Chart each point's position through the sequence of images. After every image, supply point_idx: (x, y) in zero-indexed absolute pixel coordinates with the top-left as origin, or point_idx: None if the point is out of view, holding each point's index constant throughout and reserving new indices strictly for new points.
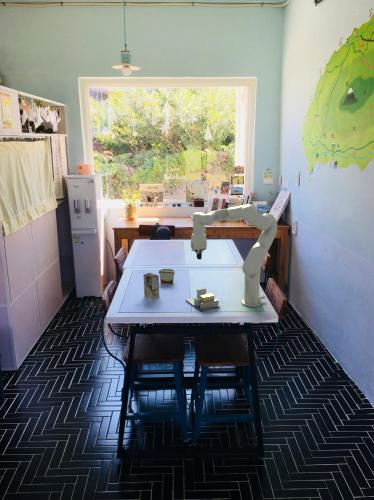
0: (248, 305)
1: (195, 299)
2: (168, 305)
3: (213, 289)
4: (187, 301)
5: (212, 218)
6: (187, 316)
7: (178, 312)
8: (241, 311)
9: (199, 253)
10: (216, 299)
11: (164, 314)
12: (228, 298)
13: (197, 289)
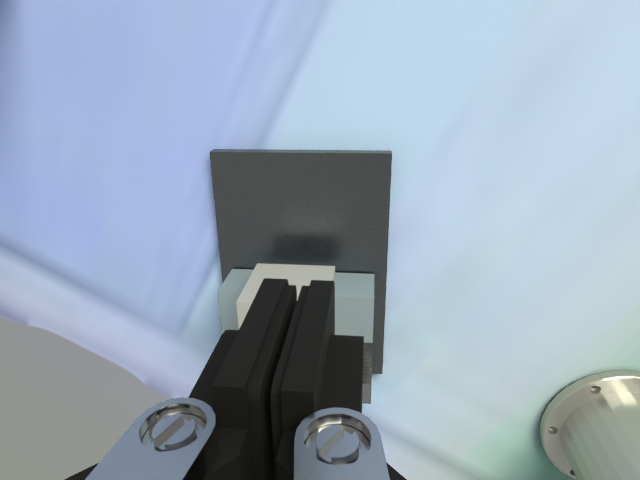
0: (550, 459)
1: (220, 309)
2: (62, 159)
3: (590, 20)
4: (214, 181)
5: None
6: (134, 368)
7: (99, 297)
8: (459, 471)
9: (275, 477)
10: (365, 386)
11: (8, 278)
12: (543, 278)
13: (239, 312)
